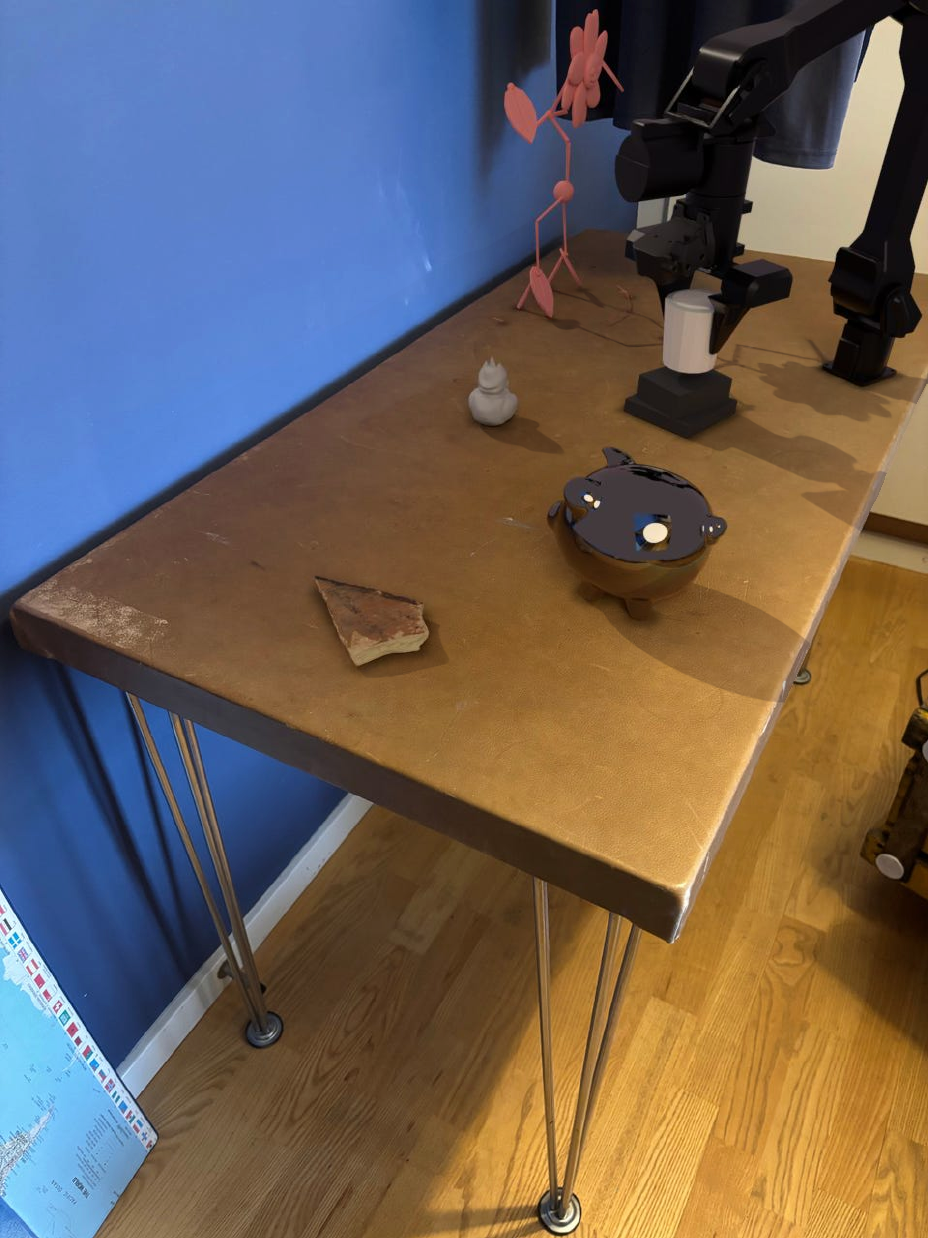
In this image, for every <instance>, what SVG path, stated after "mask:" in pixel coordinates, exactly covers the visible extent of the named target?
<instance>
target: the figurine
mask: <svg viewBox="0 0 928 1238" xmlns="http://www.w3.org/2000/svg"><path fill="white" fill-rule="evenodd" d="M599 18H600V17H599V11H598V9H594V10H593V11H592V13H588V14H587V16H586V18H585V22H584V30H583V28H581V27H580V26H576V27H573V28H572V30H571V32H570V37H569V48H570V59H571V61H570V65H569V67H568V71H567V77H566V79H565V82H564V83H563V85H562V87H561V89H560V91H559V93H558V95H557V96H556V98H555V100H554V102H553V104H552V106H551V108H550V109H549V110H546V112H545V114H544V115H542V117H541V118H539V119H538V118H537V111H536V109H535V107H534V105H533V102H532V101H531V99H530V97H528V95H527V94H526V92H525V91H524V90H523V89H521V88H519V87H518V86H515V84H514V83H513V82H509V83H508V84H507V86H506V87H507V90H506V91H505V92H504V101H503V102H504V103H503V105H504V106H503V107H504V111H505V114H506V117H507V119H508V121H509V123H510V125H511V127H512V128H513V130H514V131H515V132H516V133H517V134H518V135H519V136H520V137H521V138H522V139H523V140H524V141H526V142H527V143H528V144H529V145H532V144H533V142H534V139H535V137H536V132H537V129H538V128H539V127H540V126H541V124H543V123H544V122H545V121H546V120H548V121H551V123H552V124H553V126H554V128H555V129H556V130H557V132H558V133H559V135H560V136H561V138H562V140H563V141H564V142H565V180H560V181H558V182H557V183H556V185H554V188H553V197H554V199H555V200H556V201H555V202H554V203H552V205H551V206H550V207H548V209H546V210H545V211H544V212H543V213H542V214H541V215H540V216H539V217H538V218H537V219H536V220H535V222H534V223H535V224H534V225H535V252H536V253H535V255H536V258H535V259H536V265H535V266H532V267H531V269H530V270H529V281H530V282H529V283H528V286H527V287H526V289H525V291H524V293H523V294H522V295H521V298H520V300H519V301H518V303H517V306H516V308H517V309H521V308H522V306H523V304H524V303H525V301H526V299H527V297H528V295H529V293H530V291H532V294H533V296H534V298H535V300H536V302H537V304H538V305H539V307H540V308H541V309H542V310H543V312H545V314H546V315H547V316H548V317H549V318H550V319H551V318H552V317H553V314H554V303H555V302H554V301H555V300H554V295H553V289H552V286H551V283H552V281H553V279H554V277H555V275H556V273H557V272H558V270H559V268H560V266H561V265H562V263H563V262H565V264H566V266H567V267H568V269H569V272H570V273H571V275H572V277H573V279H574V280H575V282H576V283H577V285H578V286H579V288H580V289H583V285H582V283H581V281H580V279H579V277H578V275H577V273H576V271H575V269H574V267H573V265H572V263H571V261H570V259H569V258H568V256H569V253H568V251H567V248H568V247H567V221H566V220H567V219H566V218H567V217H566V203H568V202H570V201H571V200H572V198H573V196H574V193H575V189H574V186H573V184H572V183H571V182H570V181H569V180H570V166H571V165H570V164H571V149H572V148H571V147H572V143H571V140H570V138H569V137H568V135H567V134H566V133H565V131H564V130H563V129H562V127H561V126H560V124H559V123H558V122H557V121H556V119H555V118H556V117H561V116H564V115H567V114H568V113H569V110H570V108H571V115H572V116H571V117H572V126H573V129H574V130H576V129H578V128H579V126H583V125H584V123H585V121H586V118H587V109H589V108H590V109H593V108H596V107H597V106H598V104H599V103H600V100H601V89H600V84H599V81H598V80H599V78H600V75H601V72H602V70H603V69H604V71H606V73H607V75H609V77H610V78H611V80H612V81H613V82H614V84H615V85H616V86H617V88H618V89H619V90H620V92H622V93H623V92H624V91H625V90H624V88H623V86H622V85H621V84H620V82H619V80H618V79H617V78H616V76H615V74H614V73H613V72H612V70H611V69H610V67H609V65H607V63H606V61H605V60H604V58H605V55H606V50H607V45H608V38H609V37H608V32H607V30H603V32H602V33H600V35H599V27H600V21H599V20H600V19H599ZM602 68H603V69H602ZM560 101H561V110H557V111H555V110H556V108H557V106H558V104H559V103H560ZM571 106H572V107H571ZM554 117H555V118H554ZM559 203H562V223H563V224H562V227H563V248H562V247H560V248H559V252H560V254H561V255H560V257H559V259H558V261H557V262H556V264H555V266H554V268H553V270H552V271H551V274H550V275H549V277H548V278H547V276H546V274H545V272H544V271H543V270H542V269H541V268H540V246H539V245H540V243H539V237H540V236H539V234H540V233H539V222H540V221H541V220H542V219H544V217H546V216H547V215H548V213H550V212H551V211H552V210H553V209H554V208H555V207H556V206H557V205H558V204H559ZM563 249H564V250H563ZM616 287H617V288H619V289H620V290H622V291H623V293H624V294H626V296H627V298H628V299H630V297H629V295H628V293H627V292H626V290H625V289H623V288H622V287H620V286H619V285H618V284H617V285H616ZM630 296H631V298H633V296H632V295H630ZM628 308H629V306H627V307H626V308H625V309H624V310H623V311H622V312H621V313H619V314H618V315H616V316H614V317H612V318H610V319H606V320H604V321H601V324H604V323H606V322H609V321H612V320H614V319H616V318H618V317H620V316H621V315H622V314H624V313H625V312H626V311H627V309H628ZM630 310H631V308H629V309H628V311H627V313H628V312H629V311H630ZM493 319H494V320H496V321H500V322H501V323H503V322H504V319H503V320H502V319H500V318H496V317H493Z"/></svg>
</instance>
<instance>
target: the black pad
mask: <svg viewBox="0 0 928 1238" xmlns="http://www.w3.org/2000/svg"><path fill="white" fill-rule="evenodd" d="M732 382H733V378H732V377H730V376H728V375H726V374H724V373H722V372H720V371H718V370H716V369H714V368H713V369H711V370H709V371H707V372H702V373H683V372H678V371H675V370H672V369H670V368H668V367H667V366H665V365H664V366H661V367H658V368H655V369H651V370H648V371H645V372H642V373H639V374H638V380H637V387H636V393H637V394H636V393H635V394H636V397H637V398H639V399H640V400H642V401H644V402H646V403H647V404H649V405H651V406H653V407H654V408H656V409H658V410H660V411H661V412H663V413H665V414H667V415H668V416H670V417H672V418H674V419H678V418H681V417H684V416H687V415H690V414H693V413H696V412H699V411H702V410H705V409H708V408H710V407H713V406H716V405H719V404H722V403H725V402H728V398H729V397H730V393H731V388H732Z"/></svg>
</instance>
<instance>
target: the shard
mask: <svg viewBox="0 0 928 1238" xmlns="http://www.w3.org/2000/svg"><path fill="white" fill-rule="evenodd" d="M314 579H315V583H316V586H317V589H318V592H319V593H320V594H321V597H322V599H323V601H324V602H325V603H326V604H327V605H326V606H327V610H328V612H329V615H330V617H331V620H332V622H333V625H334V627H335V628H336V630H337V634H338V637H339V639H340V640H341V642H342V644H343V645H344V646H345V648H346V651H347V652H348V655H349V656H350V659H351V660H352V662H353V664H354V666H356V667H359V666H362V665H364V664H366V663H369V662H371V661H374V660H376V659H378V658H381V657H383V656H386V655H389V654H396V653H397V654H399V653H400V654H401V653H410V652H418V651H420V649H421V648H420V647H421V645H423V644H424V643H425V641H426V640H427V639H428V638H429V636H430V631H429V628H428V626H427V624H426V622H425V620H424V617H423V614H424V608H425V602H422V601H419V600H416V599H412V598H410V597H406V596H402V595H394V594H393V593H391V592H388V591H383V590H379V589H376V588H373V587H367V586H365V585H364V586H363V585H358V584H353V583H348V582H342V581H337V580H334V579H329V578H327V577H321V576H319V575H314Z"/></svg>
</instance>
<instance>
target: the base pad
mask: <svg viewBox="0 0 928 1238" xmlns="http://www.w3.org/2000/svg"><path fill="white" fill-rule="evenodd" d="M636 394H637V392H636V393H634V394H632V395H630V396H627V397H626V398H625V399H624V406H623V407H624V408H623V412H625V413H627V414H629V415H632V416H634V417H637V418H639V419H640V420H643V421H646V422H648V423H651V424H653V425H655V426H656V427H659V428H661V429H663V430H666V431H669V432H670V433H673V434H675V435H677V436H680V437H682V438H685V439H690V438H692V437H694V436H696V435H697V434H699V433H702V432H703V431H705V430H707V429H708V428H711V427H712V426H714V425H716V424H718V423H720V422H721V421H724V420H725V419H727V418H729V417H731V416H732V415H735V414H736V410H737V407H738V402H739V401H738V400H737V399H735V398H732V397H730V396H729V398H728V402H725V403H722V404H719V405H716V406H713V407H710V408H708V409H705V410H702V411H699V412H696V413H693V414H690V415H687V416H684V417H681V418H678V419H674V418H672V417H670V416H668V415H667V414H665V413H663V412H661V411H660V410H658V409H656V408H654V407H653V406H651V405H649V404H647V403H646V402H644V401H642V400H640V399H639V398H637V397H636Z"/></svg>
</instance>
